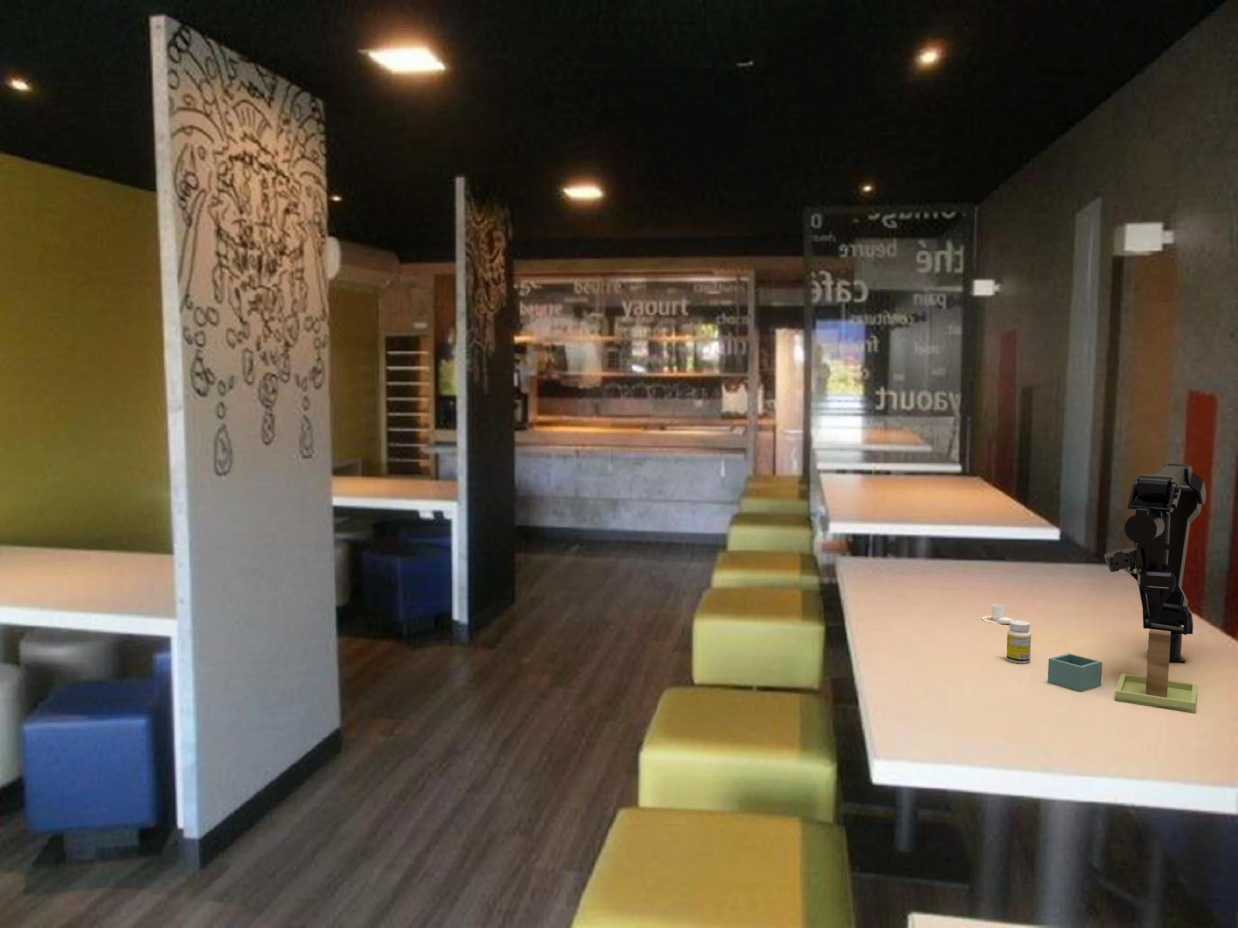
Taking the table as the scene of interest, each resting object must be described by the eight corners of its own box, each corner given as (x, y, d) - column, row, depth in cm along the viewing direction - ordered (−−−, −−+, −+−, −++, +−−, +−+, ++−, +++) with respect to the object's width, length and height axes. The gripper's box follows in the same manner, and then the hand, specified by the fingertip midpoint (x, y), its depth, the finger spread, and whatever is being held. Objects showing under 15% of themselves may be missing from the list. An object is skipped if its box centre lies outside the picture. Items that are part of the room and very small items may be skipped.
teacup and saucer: (1016, 627, 237) (1017, 611, 237) (981, 624, 240) (982, 608, 240) (1014, 619, 246) (1015, 603, 245) (981, 616, 248) (981, 601, 248)
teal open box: (1068, 676, 198) (1069, 653, 197) (1101, 685, 192) (1102, 661, 191) (1047, 681, 194) (1048, 658, 193) (1080, 691, 188) (1081, 667, 187)
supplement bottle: (1010, 656, 212) (1012, 618, 211) (1033, 660, 209) (1034, 621, 208) (1003, 661, 208) (1004, 622, 207) (1026, 665, 205) (1027, 626, 204)
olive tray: (1121, 681, 194) (1121, 673, 194) (1196, 693, 187) (1197, 684, 187) (1115, 700, 183) (1115, 690, 183) (1195, 712, 176) (1195, 703, 176)
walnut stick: (1146, 689, 187) (1149, 628, 186) (1167, 692, 185) (1170, 631, 184) (1145, 694, 184) (1148, 632, 183) (1166, 697, 182) (1170, 635, 181)
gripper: (1103, 528, 207) (1099, 600, 208) (1113, 542, 190) (1109, 620, 191) (1162, 531, 203) (1158, 604, 204) (1178, 545, 186) (1174, 625, 187)
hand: (1148, 613), depth 197 cm, fingers open, 9 cm apart
